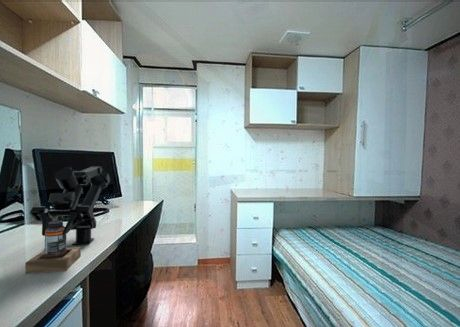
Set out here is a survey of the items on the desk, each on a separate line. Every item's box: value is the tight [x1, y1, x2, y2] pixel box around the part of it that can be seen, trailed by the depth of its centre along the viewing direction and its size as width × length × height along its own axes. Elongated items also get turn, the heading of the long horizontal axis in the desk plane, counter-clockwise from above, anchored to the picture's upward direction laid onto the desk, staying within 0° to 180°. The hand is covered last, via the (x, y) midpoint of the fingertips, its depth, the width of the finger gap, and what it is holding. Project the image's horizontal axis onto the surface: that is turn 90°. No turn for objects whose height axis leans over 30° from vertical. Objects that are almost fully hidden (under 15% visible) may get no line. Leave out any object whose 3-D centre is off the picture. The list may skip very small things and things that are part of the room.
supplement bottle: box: [44, 219, 67, 257], centre depth 79 cm, size 6×6×11 cm
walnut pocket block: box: [24, 246, 82, 275], centre depth 79 cm, size 11×11×4 cm
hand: (53, 234), depth 78 cm, fingers closed on supplement bottle, 6 cm apart
